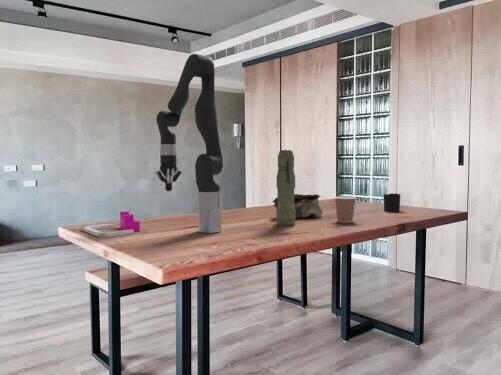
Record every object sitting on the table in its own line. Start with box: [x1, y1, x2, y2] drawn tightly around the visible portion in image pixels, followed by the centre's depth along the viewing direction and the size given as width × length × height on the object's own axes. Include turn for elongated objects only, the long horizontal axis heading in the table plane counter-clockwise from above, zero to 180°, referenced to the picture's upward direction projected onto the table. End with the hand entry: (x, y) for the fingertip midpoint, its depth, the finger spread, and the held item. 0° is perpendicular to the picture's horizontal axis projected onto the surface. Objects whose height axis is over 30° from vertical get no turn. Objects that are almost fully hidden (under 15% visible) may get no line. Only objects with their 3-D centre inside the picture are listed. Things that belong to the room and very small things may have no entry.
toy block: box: [119, 210, 141, 233], centre depth 187 cm, size 15×6×8 cm, turn 24°
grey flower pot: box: [334, 195, 357, 223], centre depth 207 cm, size 10×10×12 cm
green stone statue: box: [275, 149, 296, 227], centre depth 197 cm, size 9×12×35 cm
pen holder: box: [383, 193, 401, 213], centre depth 248 cm, size 9×9×10 cm
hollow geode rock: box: [272, 193, 323, 219], centre depth 221 cm, size 28×13×15 cm
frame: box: [81, 223, 135, 239], centre depth 181 cm, size 23×14×2 cm, turn 39°
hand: (168, 191), depth 199 cm, fingers closed
